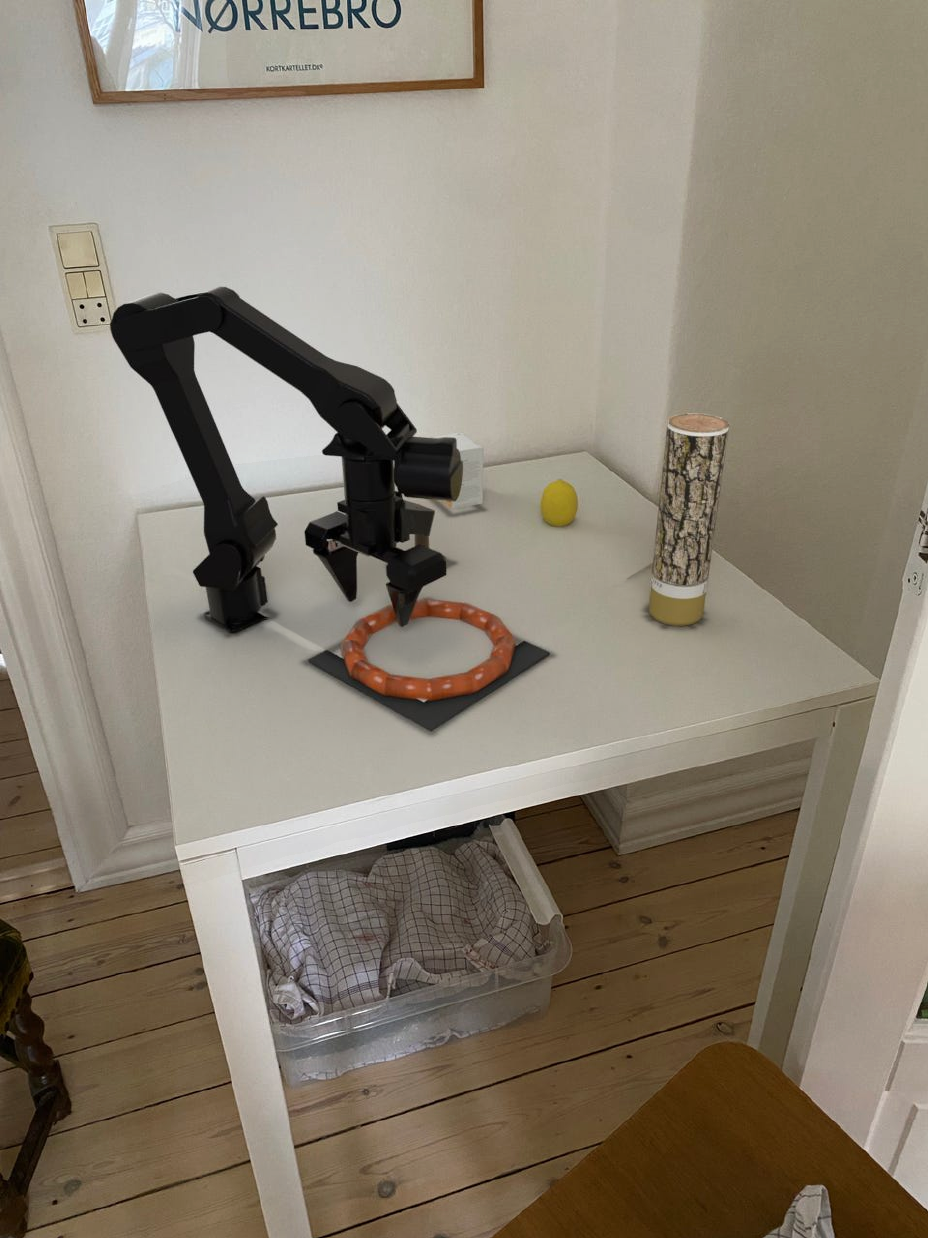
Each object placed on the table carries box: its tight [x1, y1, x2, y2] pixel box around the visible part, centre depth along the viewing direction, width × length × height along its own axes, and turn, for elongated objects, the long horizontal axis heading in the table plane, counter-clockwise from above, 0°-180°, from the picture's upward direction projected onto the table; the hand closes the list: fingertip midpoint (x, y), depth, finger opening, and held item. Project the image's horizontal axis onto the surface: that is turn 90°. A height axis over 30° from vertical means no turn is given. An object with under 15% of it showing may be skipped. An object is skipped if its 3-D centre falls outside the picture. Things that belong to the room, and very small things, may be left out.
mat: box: [307, 640, 550, 732], centre depth 108 cm, size 20×20×1 cm
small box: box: [430, 431, 485, 510], centre depth 145 cm, size 8×6×10 cm
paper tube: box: [648, 412, 730, 627], centre depth 110 cm, size 7×7×25 cm
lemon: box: [540, 478, 579, 528], centre depth 137 cm, size 6×6×8 cm
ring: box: [340, 598, 517, 701], centre depth 107 cm, size 20×20×2 cm
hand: (377, 612), depth 112 cm, fingers open, 9 cm apart
